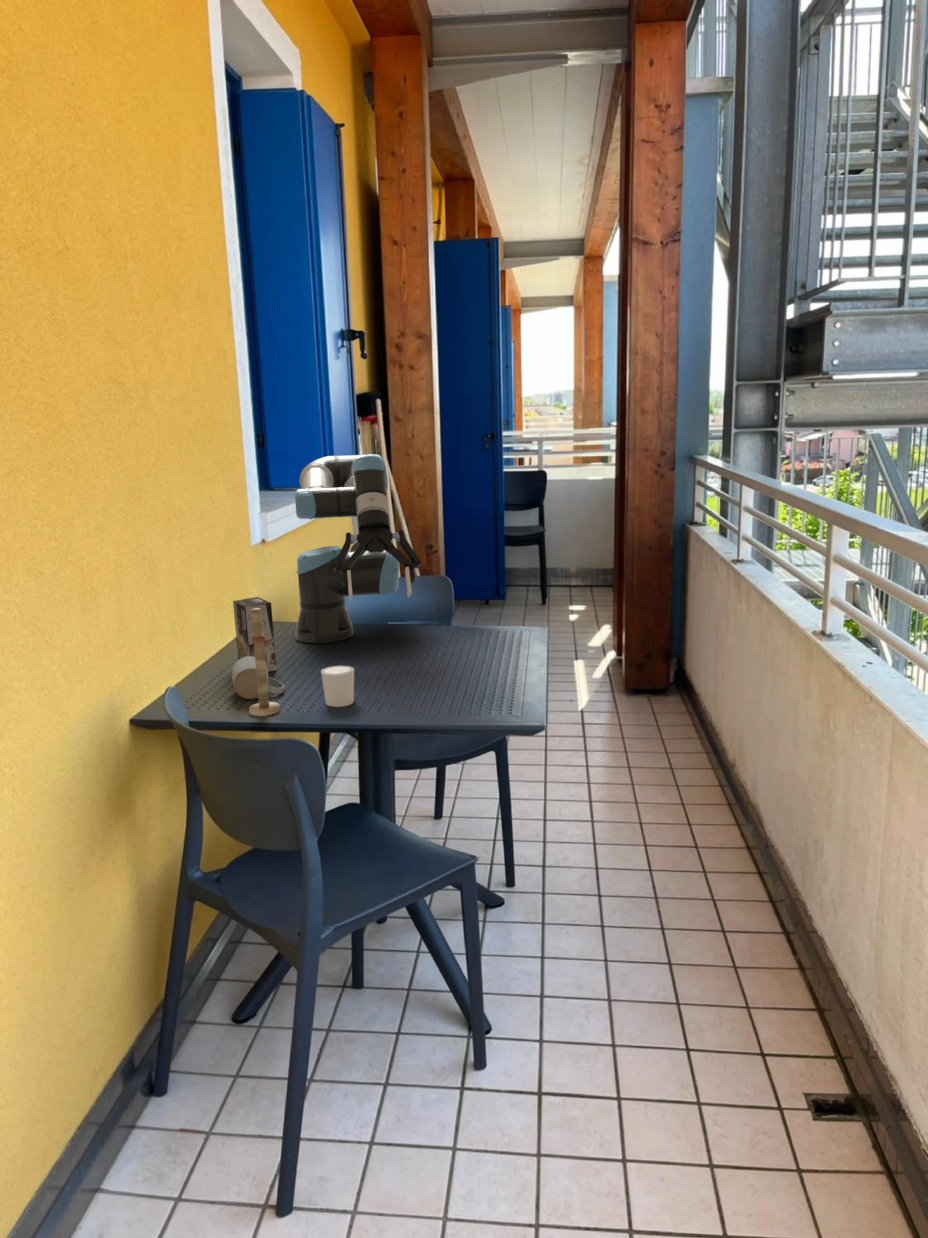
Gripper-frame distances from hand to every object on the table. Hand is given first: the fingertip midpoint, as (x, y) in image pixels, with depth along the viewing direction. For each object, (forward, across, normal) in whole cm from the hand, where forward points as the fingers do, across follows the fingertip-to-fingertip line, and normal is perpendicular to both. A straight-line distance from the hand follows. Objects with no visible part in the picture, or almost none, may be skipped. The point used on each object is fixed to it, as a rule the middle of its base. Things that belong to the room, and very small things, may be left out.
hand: (380, 596), depth 211 cm
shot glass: (+29, -11, -12) cm, 33 cm away
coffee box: (+11, -29, +12) cm, 34 cm away
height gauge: (+30, -26, -14) cm, 42 cm away
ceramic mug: (+23, -28, -4) cm, 37 cm away
